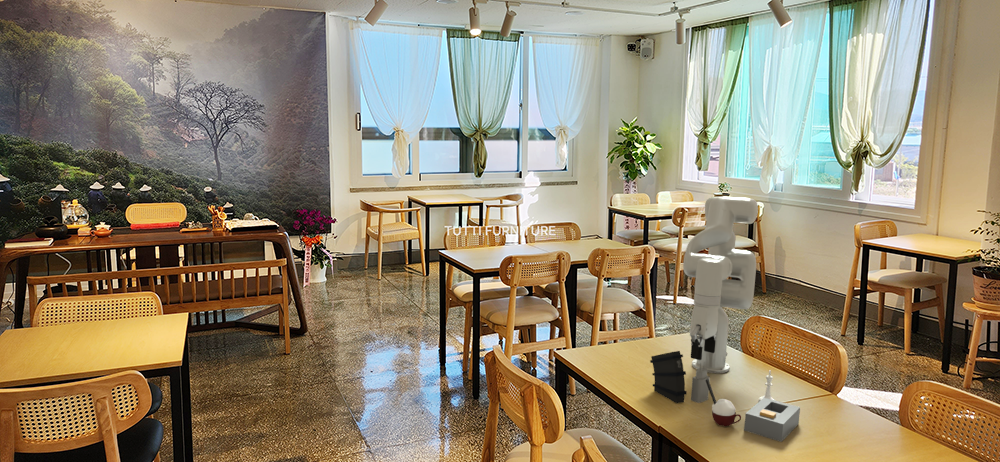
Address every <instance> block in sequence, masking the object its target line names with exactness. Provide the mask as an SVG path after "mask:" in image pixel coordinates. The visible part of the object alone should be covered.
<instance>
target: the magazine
mask: <svg viewBox="0 0 1000 462" xmlns="http://www.w3.org/2000/svg"><path fill="white" fill-rule="evenodd" d="M683 357H684V354H681V352H680V350H676V351H670V352H665V353H661V354H656V355H652V356H650V358H651V360H649V363H650V364H652V366H653V372H652V376H654V383H653V384H652V387H654V388H653V389H654V391H653V392H655V393H657V394H658V395H661V396H662V397H664V398H666V399H667V400H670V401H672V402H673V403H674V404H682V403H685V395H687V390H685V389H686V387H685V385H686V382H685V380H686V379H685V375H687V372H686V370H684V364H683V363H684V362H683V359H682V358H683Z"/></svg>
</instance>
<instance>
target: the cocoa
mask: <svg viewBox="0 0 1000 462" xmlns="http://www.w3.org/2000/svg"><path fill="white" fill-rule="evenodd" d="M706 383H707V386H708V389H709V394H710V398H711V401H712V402H713V404H712V405H711V415H712V419H713V422H714V423H715V424H717V425H718V426H720V427H729V426H732V425H735V424H737V423H739V422H740V421H741V419H742V415H741V414H739V413H737V412H736V407H735V405H734V404H733V402H732V401H731V400H728V399H726V398H719V399H718V400H717V398H716V396H715V393H714V391H713V388H712V385H711V382H709V379H708V378H707V379H706ZM736 417H739V419H738V420H736Z"/></svg>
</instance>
